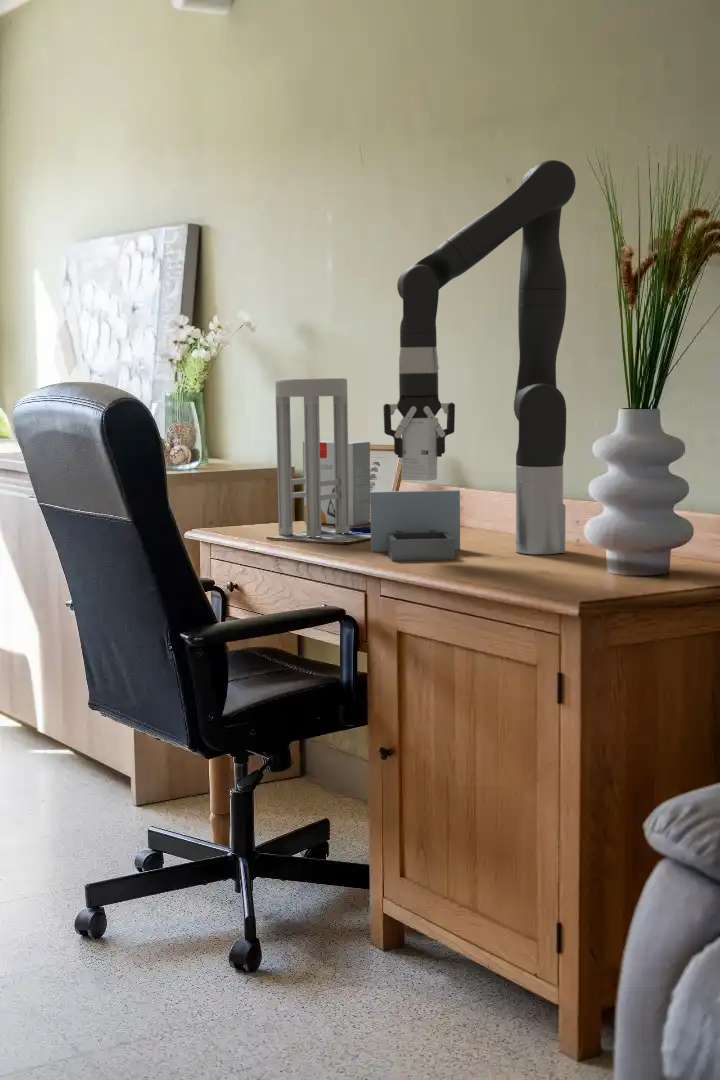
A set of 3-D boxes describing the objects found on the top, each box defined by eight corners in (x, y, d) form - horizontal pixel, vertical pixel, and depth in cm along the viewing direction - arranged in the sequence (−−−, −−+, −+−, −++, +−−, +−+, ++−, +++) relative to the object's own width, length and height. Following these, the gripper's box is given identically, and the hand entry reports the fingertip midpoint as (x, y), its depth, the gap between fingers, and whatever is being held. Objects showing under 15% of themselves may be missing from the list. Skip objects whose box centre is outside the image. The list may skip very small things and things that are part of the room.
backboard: (459, 548, 265) (458, 490, 264) (460, 549, 264) (459, 490, 262) (371, 550, 264) (370, 491, 263) (371, 551, 263) (370, 492, 261)
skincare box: (400, 480, 253) (399, 417, 251) (410, 478, 257) (410, 417, 255) (429, 481, 250) (428, 417, 248) (439, 479, 254) (438, 417, 252)
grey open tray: (445, 550, 264) (445, 529, 263) (454, 559, 249) (454, 537, 249) (386, 551, 263) (386, 530, 262) (391, 561, 249) (391, 539, 248)
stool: (362, 533, 295) (360, 377, 291) (313, 539, 284) (310, 378, 280) (314, 528, 306) (311, 378, 301) (265, 534, 294) (262, 379, 290)
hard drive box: (302, 522, 319) (300, 441, 316) (322, 519, 325) (320, 439, 322) (353, 526, 309) (351, 442, 307) (372, 523, 315) (371, 440, 313)
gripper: (453, 370, 255) (453, 455, 257) (380, 372, 254) (381, 456, 256) (458, 370, 247) (458, 457, 249) (382, 371, 247) (384, 459, 249)
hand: (419, 456), depth 253 cm, fingers closed on skincare box, 7 cm apart
